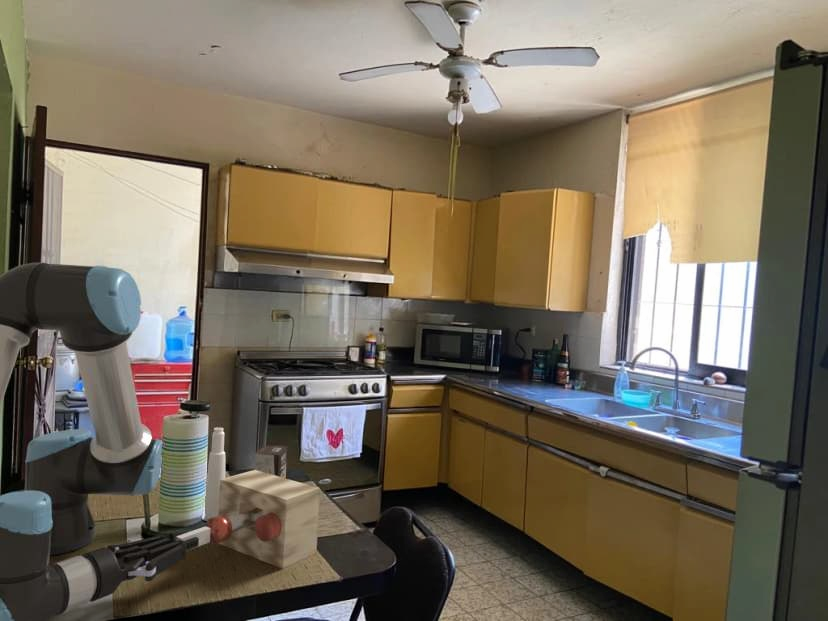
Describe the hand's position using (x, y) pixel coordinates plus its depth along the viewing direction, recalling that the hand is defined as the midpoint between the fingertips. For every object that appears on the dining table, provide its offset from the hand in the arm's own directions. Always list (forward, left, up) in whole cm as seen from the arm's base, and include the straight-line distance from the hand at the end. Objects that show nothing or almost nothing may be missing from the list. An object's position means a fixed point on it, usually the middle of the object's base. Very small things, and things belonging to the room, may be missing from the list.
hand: (207, 534), depth 114 cm
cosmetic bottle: (-22, +20, -8) cm, 31 cm away
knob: (0, +8, -2) cm, 8 cm away
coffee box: (-15, +31, -8) cm, 36 cm away
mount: (0, +15, -8) cm, 17 cm away
